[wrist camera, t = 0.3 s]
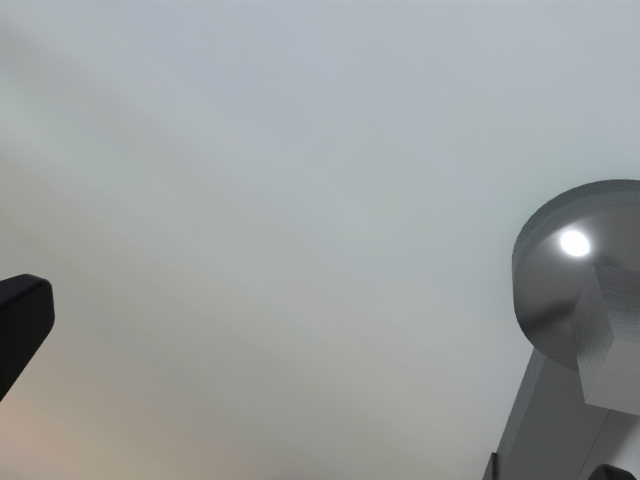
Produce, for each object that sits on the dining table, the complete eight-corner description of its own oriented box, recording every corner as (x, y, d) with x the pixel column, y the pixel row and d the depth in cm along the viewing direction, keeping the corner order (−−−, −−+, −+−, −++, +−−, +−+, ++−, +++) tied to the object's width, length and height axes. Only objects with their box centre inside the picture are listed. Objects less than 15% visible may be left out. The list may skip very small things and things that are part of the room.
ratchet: (538, 164, 20) (555, 257, 15) (751, 198, 19) (855, 313, 14) (439, 496, 31) (428, 622, 25) (574, 533, 29) (592, 673, 24)
